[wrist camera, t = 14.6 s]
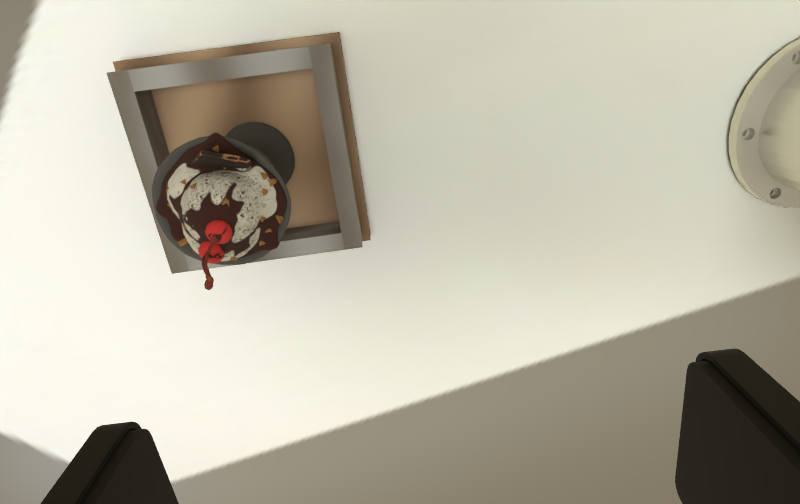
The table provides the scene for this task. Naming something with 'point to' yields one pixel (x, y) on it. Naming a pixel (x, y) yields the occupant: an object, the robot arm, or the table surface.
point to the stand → (255, 102)
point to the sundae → (226, 195)
